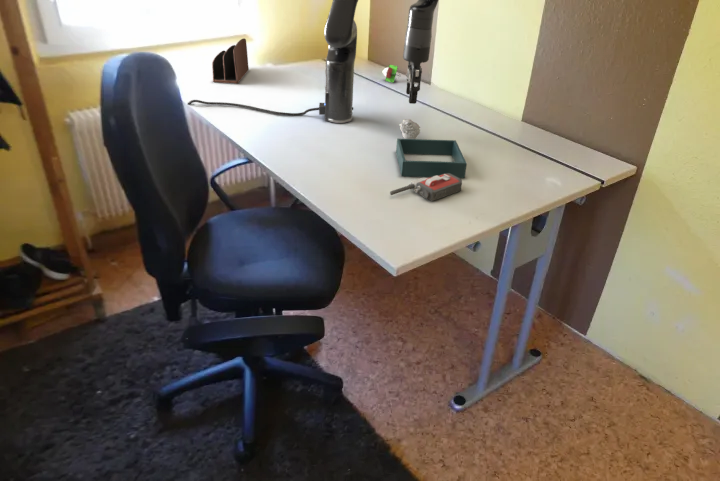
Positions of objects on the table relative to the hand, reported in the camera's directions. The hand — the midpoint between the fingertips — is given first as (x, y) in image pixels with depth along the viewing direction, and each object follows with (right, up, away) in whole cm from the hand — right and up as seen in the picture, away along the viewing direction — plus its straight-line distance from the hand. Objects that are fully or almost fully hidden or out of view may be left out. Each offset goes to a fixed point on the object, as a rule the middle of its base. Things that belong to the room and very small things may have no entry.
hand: (410, 98), depth 166 cm
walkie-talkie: (+2, -31, -23) cm, 38 cm away
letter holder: (-68, +24, +58) cm, 92 cm away
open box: (+4, -21, -8) cm, 23 cm away
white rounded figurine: (0, -11, +8) cm, 14 cm away
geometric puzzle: (-3, +23, +62) cm, 67 cm away
